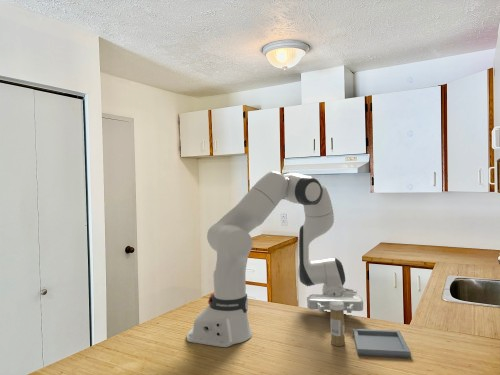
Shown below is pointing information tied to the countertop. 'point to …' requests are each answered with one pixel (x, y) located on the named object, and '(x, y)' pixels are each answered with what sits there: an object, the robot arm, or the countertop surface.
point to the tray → (380, 343)
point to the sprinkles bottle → (337, 323)
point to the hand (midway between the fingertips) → (335, 310)
